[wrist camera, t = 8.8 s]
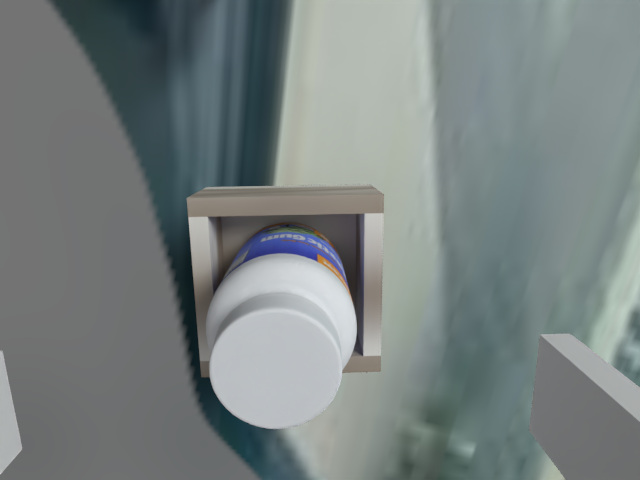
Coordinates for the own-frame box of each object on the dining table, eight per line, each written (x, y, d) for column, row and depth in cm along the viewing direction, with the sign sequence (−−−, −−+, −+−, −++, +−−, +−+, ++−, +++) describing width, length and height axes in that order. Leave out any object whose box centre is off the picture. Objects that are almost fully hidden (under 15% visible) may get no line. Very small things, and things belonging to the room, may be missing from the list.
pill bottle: (361, 247, 23) (403, 329, 13) (314, 338, 24) (321, 475, 14) (261, 200, 22) (229, 251, 12) (217, 296, 23) (157, 411, 13)
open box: (223, 177, 27) (186, 198, 19) (357, 175, 28) (384, 194, 19) (231, 304, 29) (201, 377, 21) (357, 301, 30) (380, 371, 21)
